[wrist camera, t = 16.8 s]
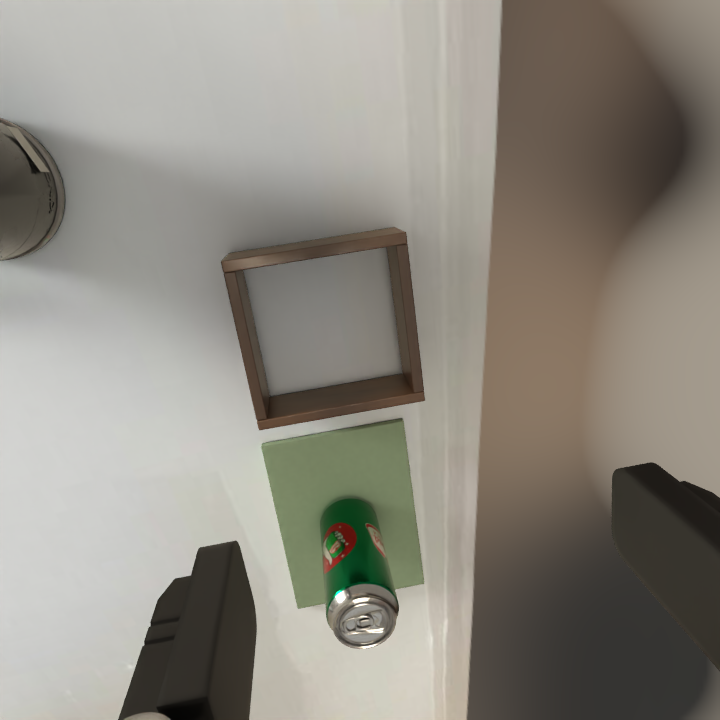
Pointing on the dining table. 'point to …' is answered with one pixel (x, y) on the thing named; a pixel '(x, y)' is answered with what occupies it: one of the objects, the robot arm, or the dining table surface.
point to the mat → (342, 481)
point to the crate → (339, 396)
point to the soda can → (356, 575)
